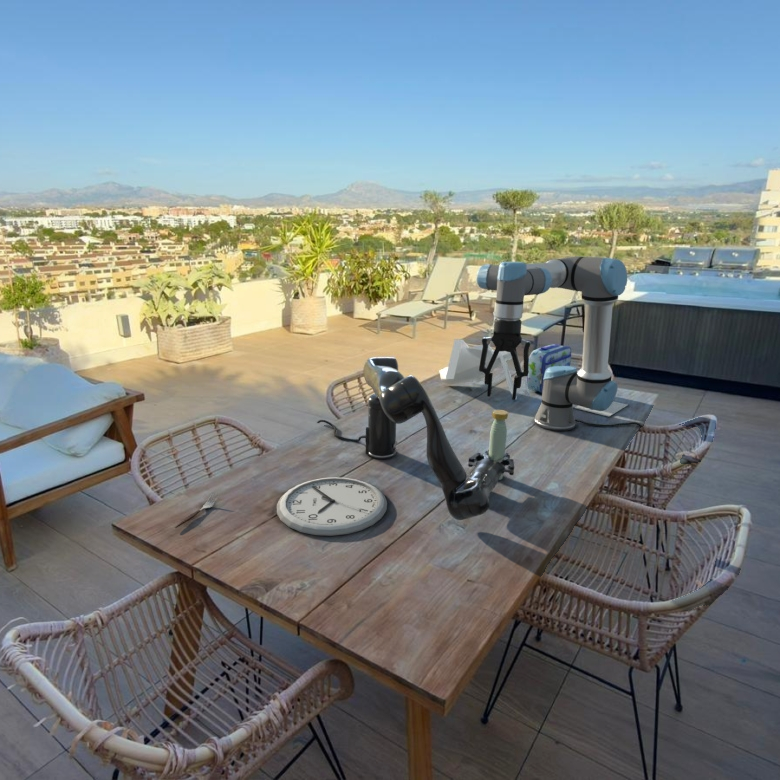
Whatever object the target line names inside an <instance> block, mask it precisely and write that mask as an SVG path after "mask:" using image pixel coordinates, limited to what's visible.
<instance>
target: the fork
mask: <svg viewBox="0 0 780 780" xmlns="http://www.w3.org/2000/svg"><path fill="white" fill-rule="evenodd" d="M219 496H220V494H218V493H213V492H212V493H211V494H210V497H208V500H207V501H206V502H205V503H204V504H203V505H202V507H201V508H200V509H198V510H196V511H194V512H193V513H191V514H189V515H188V516H187V517H185V518H184V519H183V520H182V521H181V522H179V523H178V524H177V525H175V527H174V528H175V529H177V528H179V527H180V526H182V525H184V524H185V523H187V522H189V521H190V520H192V519H194V517H196V516H197V515H198V514H199V513H201V511H203V510H204V509H210V508H212V507H213V506H214V505H215V504H216V502H217V500H218V498H219Z"/></svg>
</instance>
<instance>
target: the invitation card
mask: <svg viewBox="0 0 780 780" xmlns="http://www.w3.org/2000/svg"><path fill="white" fill-rule="evenodd" d="M628 406H629V404H627V403H623V402H618V401H614V400H613V402H612V404H611V405H610V406H609V407H608V408H607V409H606V410H604V411H598V410H591V409H589V408H586V407H582V406H579V405H575V406H574V407H573V409H575V410H581V411H584V412H587V413H593V414H596V415H600V416H604V417H608V418H609V417H611V416H613V415H614V414H616V413H617V412H619V411H621V410H623V409H624V408H626V407H628Z"/></svg>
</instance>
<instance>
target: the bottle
mask: <svg viewBox="0 0 780 780" xmlns="http://www.w3.org/2000/svg"><path fill="white" fill-rule="evenodd" d="M506 422H507V421H506V419H505V420H498V419H494V418H493V422H492V424H491V426H490V433H489V445H488V450H489V456H488V459H492V460H497V459H499V458H504V456H505V454H506V446H507V445H506V444H507V434H508V431H507V430H508V429H507V423H506ZM503 478H504V473H503V474H501V476H500V478H499V480H498V481H501V480H503Z"/></svg>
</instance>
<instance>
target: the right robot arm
mask: <svg viewBox="0 0 780 780" xmlns="http://www.w3.org/2000/svg"><path fill="white" fill-rule="evenodd" d="M476 284H477V286H478V287H479V288H480V289H483V290H487V291H495V292H496V298H495V305H494V311H495V317H497V318H496V319H495V318H494V321H493V333H492V335H491V336H488V337H486V336H483V338H482V339H481V345H483V349H482V355H481V360H480V366H479V371H480V372H483V373H485V377H484V381H483V382H484V383H483V384H484V385H486V386H487V391H486V392H487V393H486V394H487V395H486V397H489V398H490V397H491V395H492V388H493V375H494V374H493V372H490V371H491V369H492V366H493V364H494V362H495V360H496V358H497V356H498V353H499V351H506V352H510V353H511V356H512V359H511V360H512V362H513V367H514V371H515V373H516V374H515V375H514V377H513V385H514V386H513V395H512V398H511V400H514V401H515V400H516V399H517V398H516V395H517V390H518V389H521V388H522V386H521V380H522V377H524V378H525V377H527V376H528V374H529V357H530V347H531V344H532V341H531V340H526V339H523V338H522V335H521V334H522V333H521V332H522V320H521V319H522V318H523V311H524V301H525V300H524V299H525V296H534V295H535V296H539V295H541V294H545V293H547V292H548V291H549V290H550V288H551V289H555V288H556V289H557V288H558V289H564V290H568V291H573V292H581V300H582V301H583V302H584V303H585V311H584V312H585V313H584V329H583V343H582V356H581V357H582V358H581V368H580V369H578V368H577V367H576V366H571V365H570V366H554V367H550V368H547V369H546V371H545V374H544V378H543V380H544V381H543V391H542V393H541V402H540V405H539V407H538V410H537V411H536V413H535V416H534V424H535V425H536V426H537V427H539V428H542V429H544V430H549V431H556V432H567V431H572V430H574V429H575V428H576V423H580V424H583V425H585V426H592V427H603V428H605V427H607V428H610V427H611V428H613V427H619V426H631V425H633V426H634V425H635V426H638V427H639V428H644V426H643V424H641V423H639V422H635V421H634V422H633V421H632V422H619V423H613V424H610V423H609V424H603V423H601V424H600V423H592V422H587V421H583V420H580V419H576V418H575V417H576V416H575V413H574V407H573V405H575V406H578V405H579V406H582V407H586V408H589V409H591V410H598V411H604V410H606V409H607V408H608V407H609V406H610V405H611V404H612V402H613V401H614V400H615V399H616V396H617V394H618V393H617V392H618V384H617V382H616V381H615V380H612V376H613V375H612V372H611V371H610V370H609V369H608V367H609V356H610V344H611V330H612V319H613V317H612V316H613V307H614V303H615V302H617V301H618V300H619V296H622V294H623V293H624V292H625V290H626V286H627V284H628V271H627V267H626V265H625V264H624V262H623V261H622V260H621V259H617V258H611V257H601V256H600V257H599V256H580V255H579V256H578V255H577V256H569V257H562V258H553V259H549V260H548V261H546V262H535V263H534V262H533V263H526V262H525V261H502V262H500V264H482V265H481V266H480V267H479V269H478V270H477V272H476ZM491 342H492V343H493V345H494V347H495V348H494V350H495V351H494V353H493V355H492V358H491V360H490V362H489V364H488V366H487V368H485V362H486V356H487V351H488V345H491ZM520 344H521V348H522V349H523V370H522V371H523V372H522V371H521V368H522V366H521V367H520V365H521V362H520V359H519V355H518V351H517V347H519V346H520ZM517 355H518V356H517ZM519 362H520V363H519ZM515 398H516V399H515Z"/></svg>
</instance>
